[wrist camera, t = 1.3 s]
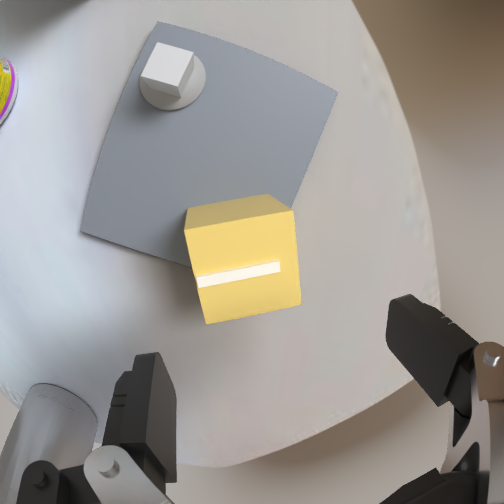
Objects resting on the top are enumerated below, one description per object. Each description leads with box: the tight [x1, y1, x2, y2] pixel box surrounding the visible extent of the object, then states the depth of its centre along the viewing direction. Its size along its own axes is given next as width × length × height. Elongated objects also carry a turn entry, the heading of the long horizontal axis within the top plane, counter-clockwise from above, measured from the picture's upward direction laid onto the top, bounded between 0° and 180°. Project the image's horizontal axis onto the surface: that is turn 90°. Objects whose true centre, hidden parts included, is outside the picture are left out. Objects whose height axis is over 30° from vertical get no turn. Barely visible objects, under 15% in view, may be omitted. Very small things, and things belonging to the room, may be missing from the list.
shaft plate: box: [80, 22, 338, 268], centre depth 18 cm, size 16×14×5 cm
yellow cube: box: [184, 194, 301, 325], centre depth 18 cm, size 6×6×6 cm
